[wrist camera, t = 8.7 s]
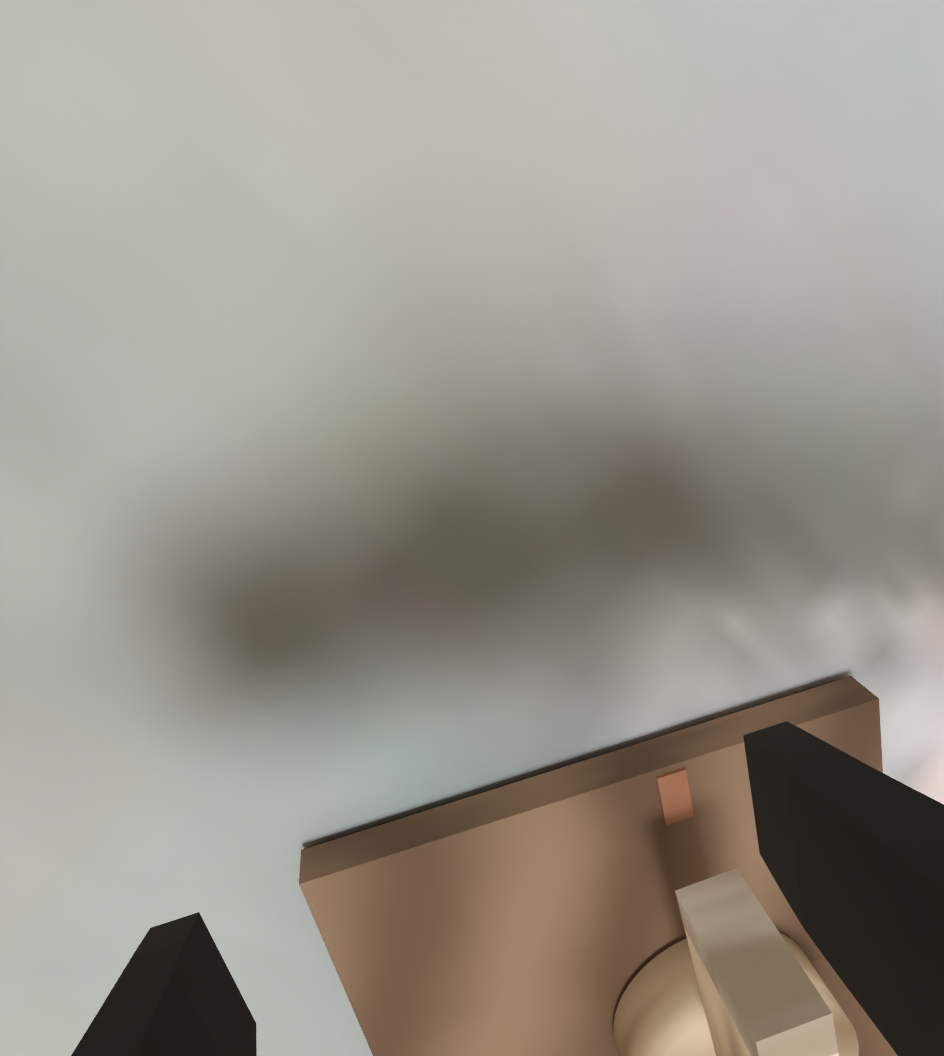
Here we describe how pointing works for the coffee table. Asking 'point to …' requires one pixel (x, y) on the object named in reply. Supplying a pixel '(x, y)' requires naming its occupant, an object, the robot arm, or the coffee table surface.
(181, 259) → the coffee table surface
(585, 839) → the plate
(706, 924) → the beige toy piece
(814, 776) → the robot arm
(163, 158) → the coffee table surface
